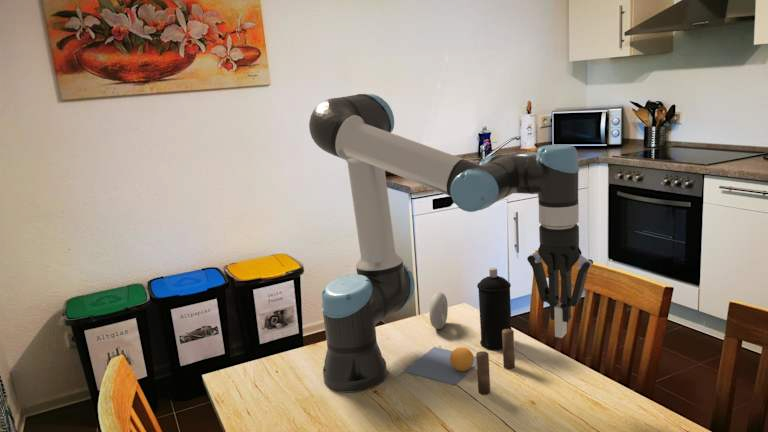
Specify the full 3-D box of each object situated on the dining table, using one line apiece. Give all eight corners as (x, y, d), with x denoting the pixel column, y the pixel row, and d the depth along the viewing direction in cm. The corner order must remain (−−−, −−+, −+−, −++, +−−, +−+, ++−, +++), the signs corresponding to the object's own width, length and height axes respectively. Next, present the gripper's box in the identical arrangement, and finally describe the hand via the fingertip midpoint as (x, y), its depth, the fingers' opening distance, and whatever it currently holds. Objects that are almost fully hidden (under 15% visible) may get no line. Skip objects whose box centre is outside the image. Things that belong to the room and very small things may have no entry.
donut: (441, 335, 161) (439, 300, 159) (429, 335, 162) (426, 300, 160) (450, 320, 170) (447, 286, 168) (438, 319, 171) (435, 286, 169)
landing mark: (403, 371, 144) (403, 370, 144) (434, 347, 155) (434, 346, 155) (454, 385, 136) (454, 384, 136) (483, 359, 147) (483, 358, 146)
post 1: (476, 393, 132) (474, 355, 130) (481, 387, 134) (479, 350, 132) (486, 396, 130) (485, 357, 128) (492, 390, 132) (490, 352, 130)
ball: (467, 357, 137) (465, 378, 139) (478, 347, 141) (477, 368, 143) (446, 349, 140) (445, 370, 142) (458, 340, 145) (456, 360, 146)
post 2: (501, 367, 142) (500, 332, 139) (506, 363, 144) (505, 328, 141) (512, 370, 140) (510, 334, 138) (516, 365, 142) (515, 330, 140)
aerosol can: (499, 353, 148) (496, 276, 144) (473, 344, 154) (469, 270, 150) (519, 342, 154) (516, 267, 149) (493, 333, 160) (490, 261, 155)
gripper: (598, 222, 118) (598, 333, 124) (534, 217, 126) (537, 322, 132) (585, 232, 112) (586, 348, 118) (519, 226, 120) (523, 335, 126)
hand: (560, 334), depth 125 cm, fingers closed
